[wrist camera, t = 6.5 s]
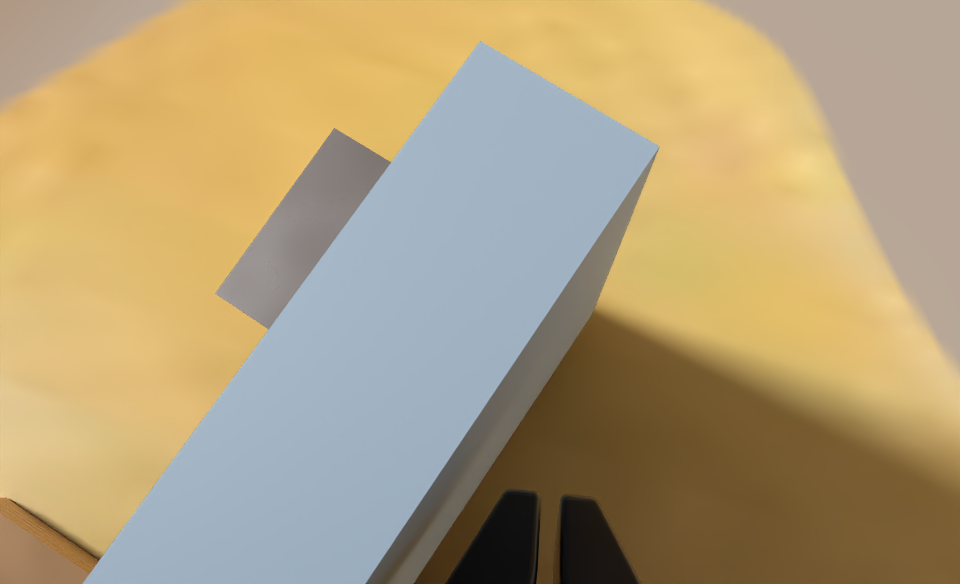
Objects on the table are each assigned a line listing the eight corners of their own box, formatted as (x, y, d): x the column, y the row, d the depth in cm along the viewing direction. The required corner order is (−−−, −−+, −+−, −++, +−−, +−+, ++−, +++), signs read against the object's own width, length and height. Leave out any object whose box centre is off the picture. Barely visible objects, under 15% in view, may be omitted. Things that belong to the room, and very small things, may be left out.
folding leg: (300, 753, 14) (-7, 1135, 6) (213, 682, 14) (-191, 954, 6) (591, 314, 15) (659, 147, 7) (505, 259, 16) (480, 41, 8)
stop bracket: (404, 409, 16) (349, 384, 11) (309, 345, 16) (215, 294, 11) (486, 286, 16) (468, 209, 11) (391, 227, 17) (334, 128, 12)
